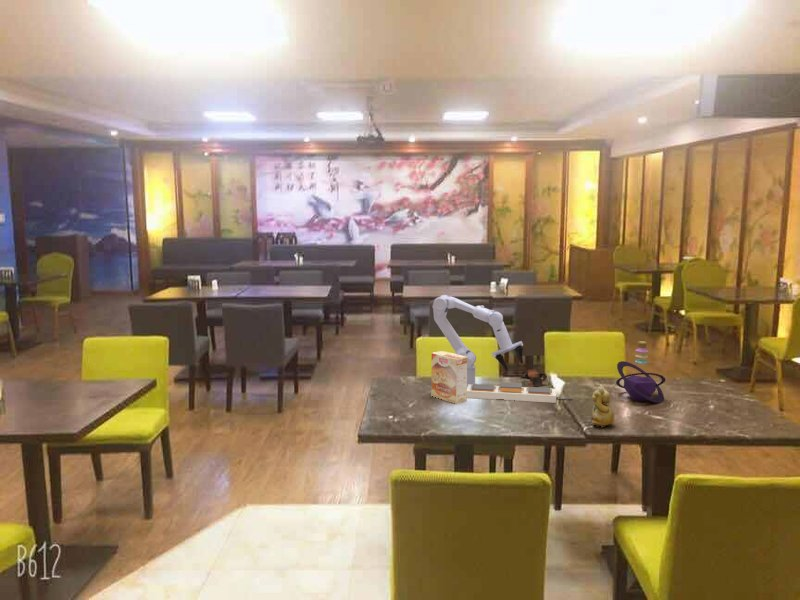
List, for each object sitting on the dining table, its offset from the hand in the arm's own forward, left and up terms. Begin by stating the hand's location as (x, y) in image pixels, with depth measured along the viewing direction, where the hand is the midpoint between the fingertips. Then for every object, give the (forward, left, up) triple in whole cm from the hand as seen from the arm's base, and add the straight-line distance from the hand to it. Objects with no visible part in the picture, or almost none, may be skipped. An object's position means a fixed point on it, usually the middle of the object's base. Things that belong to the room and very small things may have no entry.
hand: (514, 366), depth 285 cm
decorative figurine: (+34, -40, -11) cm, 53 cm away
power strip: (+3, -10, -11) cm, 15 cm away
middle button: (-1, -10, -8) cm, 12 cm away
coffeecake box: (-27, -18, -11) cm, 34 cm away
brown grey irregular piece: (+9, +12, -11) cm, 19 cm away
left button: (-13, -10, -9) cm, 19 cm away
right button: (+11, -10, -9) cm, 17 cm away
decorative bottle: (+53, -3, -11) cm, 54 cm away
